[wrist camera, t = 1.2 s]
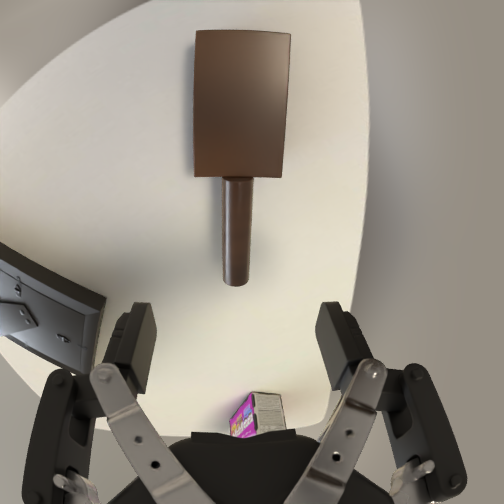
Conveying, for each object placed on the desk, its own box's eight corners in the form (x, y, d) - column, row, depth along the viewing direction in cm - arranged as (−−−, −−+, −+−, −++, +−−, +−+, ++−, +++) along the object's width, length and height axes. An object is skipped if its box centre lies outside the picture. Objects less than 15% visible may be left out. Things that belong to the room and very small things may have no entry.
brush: (201, 39, 15) (193, 26, 11) (282, 42, 15) (294, 30, 12) (202, 257, 24) (198, 286, 20) (267, 257, 24) (273, 286, 21)
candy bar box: (256, 422, 42) (264, 505, 28) (228, 419, 41) (233, 506, 27) (283, 393, 37) (300, 495, 23) (251, 390, 36) (261, 498, 22)
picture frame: (-16, 309, 26) (93, 369, 32) (-24, 321, 23) (88, 384, 30) (-29, 223, 19) (106, 297, 25) (-42, 235, 17) (98, 316, 23)
